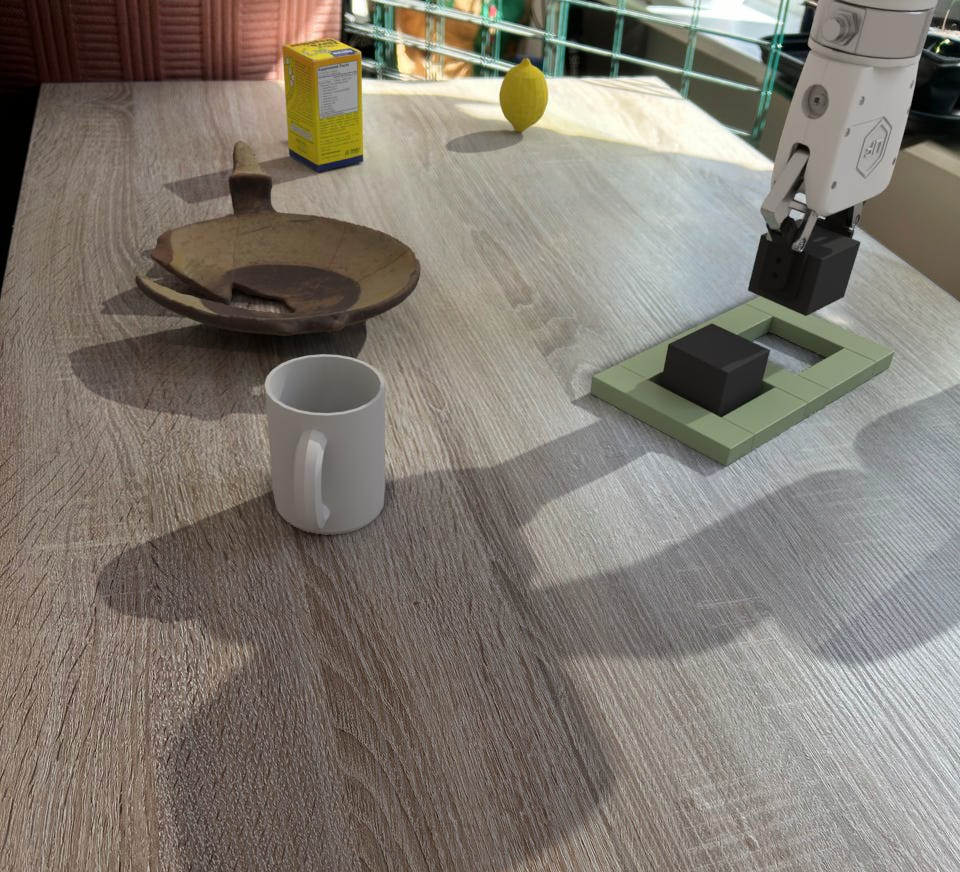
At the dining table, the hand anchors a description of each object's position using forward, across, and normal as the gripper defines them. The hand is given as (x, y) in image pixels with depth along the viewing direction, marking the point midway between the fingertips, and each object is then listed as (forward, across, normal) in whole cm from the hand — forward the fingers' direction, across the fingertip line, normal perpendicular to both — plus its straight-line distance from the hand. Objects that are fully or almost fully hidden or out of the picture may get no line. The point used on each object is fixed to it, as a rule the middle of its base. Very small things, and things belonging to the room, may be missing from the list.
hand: (799, 282), depth 86 cm
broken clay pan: (+7, -25, +33) cm, 42 cm away
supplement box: (+7, -2, +57) cm, 57 cm away
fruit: (+7, +22, +51) cm, 56 cm away
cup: (+7, -42, +7) cm, 43 cm away
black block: (+7, -10, 0) cm, 12 cm away
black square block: (+1, 0, 0) cm, 1 cm away
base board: (+7, -5, 0) cm, 8 cm away
